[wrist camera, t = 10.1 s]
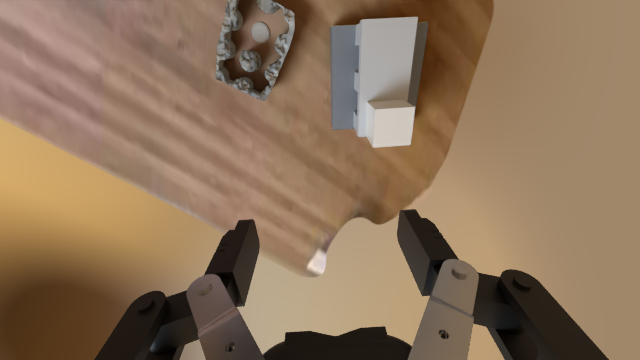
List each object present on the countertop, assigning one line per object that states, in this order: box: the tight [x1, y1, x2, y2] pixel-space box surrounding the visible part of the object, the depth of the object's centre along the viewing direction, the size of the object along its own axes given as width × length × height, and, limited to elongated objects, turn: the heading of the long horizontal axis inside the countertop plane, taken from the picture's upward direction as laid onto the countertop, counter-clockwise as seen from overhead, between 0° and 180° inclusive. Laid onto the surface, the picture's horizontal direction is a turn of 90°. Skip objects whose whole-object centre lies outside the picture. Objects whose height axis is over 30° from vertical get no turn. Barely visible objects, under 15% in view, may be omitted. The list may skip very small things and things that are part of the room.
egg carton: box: [215, 0, 295, 101], centre depth 29 cm, size 11×8×4 cm
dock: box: [330, 22, 429, 130], centre depth 31 cm, size 12×11×2 cm
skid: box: [353, 17, 418, 137], centre depth 28 cm, size 12×6×4 cm, turn 2°
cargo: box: [366, 99, 415, 147], centre depth 27 cm, size 4×4×4 cm
